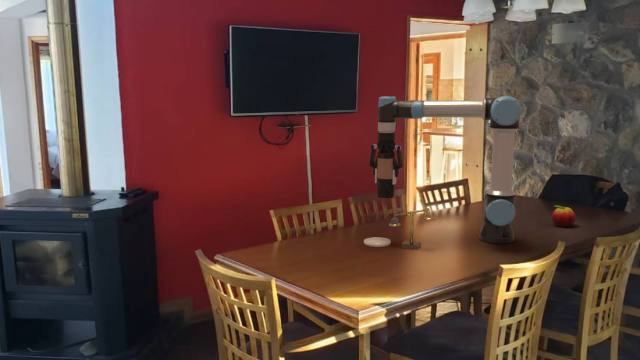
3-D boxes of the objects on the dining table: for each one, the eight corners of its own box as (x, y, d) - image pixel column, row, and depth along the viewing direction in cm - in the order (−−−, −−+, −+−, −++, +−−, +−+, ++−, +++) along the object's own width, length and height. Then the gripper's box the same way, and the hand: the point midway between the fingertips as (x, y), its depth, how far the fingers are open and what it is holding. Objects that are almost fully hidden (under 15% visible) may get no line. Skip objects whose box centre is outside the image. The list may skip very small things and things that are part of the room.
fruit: (568, 229, 273) (569, 209, 271) (547, 226, 281) (548, 206, 280) (579, 225, 280) (580, 206, 278) (557, 222, 288) (558, 203, 286)
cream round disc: (394, 241, 257) (394, 238, 257) (384, 248, 247) (384, 245, 247) (369, 238, 263) (369, 236, 263) (359, 245, 252) (359, 242, 252)
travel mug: (393, 198, 249) (394, 153, 245) (375, 198, 250) (376, 153, 247) (394, 195, 256) (395, 151, 253) (377, 194, 258) (378, 151, 254)
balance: (436, 248, 245) (436, 207, 243) (432, 251, 240) (432, 210, 237) (391, 243, 255) (391, 203, 252) (386, 246, 249) (387, 206, 247)
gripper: (411, 132, 247) (410, 183, 251) (368, 130, 257) (367, 180, 260) (405, 133, 240) (404, 186, 244) (361, 131, 250) (361, 182, 254)
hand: (385, 183), depth 252 cm, fingers closed on travel mug, 8 cm apart
